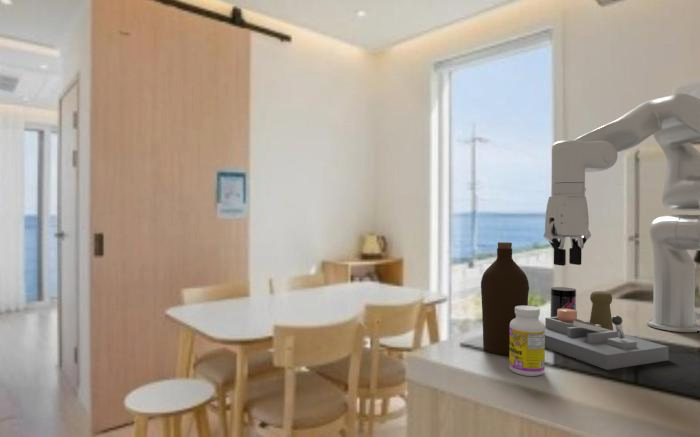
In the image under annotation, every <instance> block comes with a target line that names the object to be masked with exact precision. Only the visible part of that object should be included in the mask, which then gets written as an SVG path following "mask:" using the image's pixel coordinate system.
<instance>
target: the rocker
mask: <svg viewBox="0 0 700 437" xmlns="http://www.w3.org/2000/svg"><path fill="white" fill-rule="evenodd" d="M573 325H575V326H578V327H582V328H586V329H589V330H594V331H598V332H604V331H612V330H608V329H605V328H601V327H597V326H596V325H594V324H591V323H587V322H583V321H579V320H575V321H574V322H573Z"/></svg>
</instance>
